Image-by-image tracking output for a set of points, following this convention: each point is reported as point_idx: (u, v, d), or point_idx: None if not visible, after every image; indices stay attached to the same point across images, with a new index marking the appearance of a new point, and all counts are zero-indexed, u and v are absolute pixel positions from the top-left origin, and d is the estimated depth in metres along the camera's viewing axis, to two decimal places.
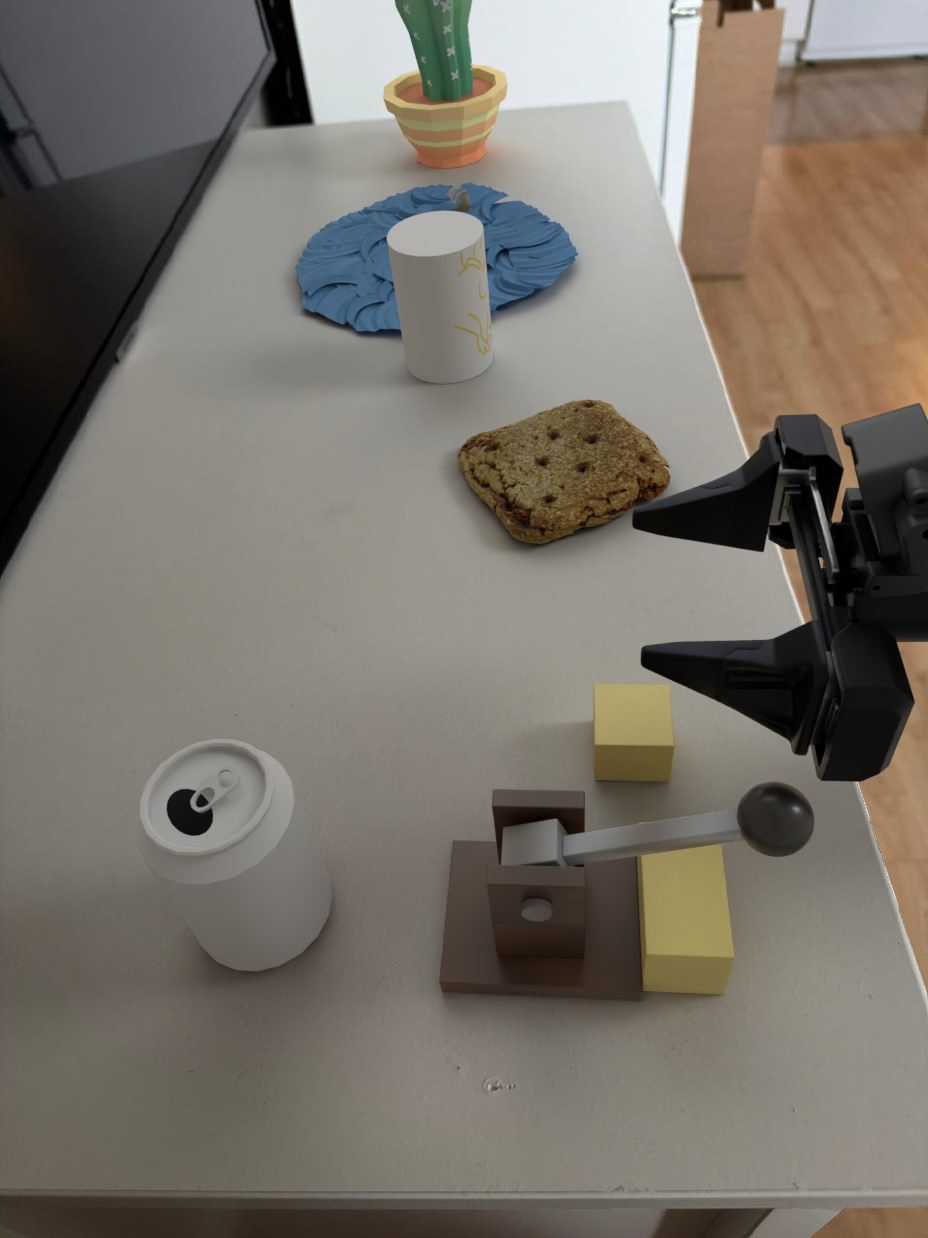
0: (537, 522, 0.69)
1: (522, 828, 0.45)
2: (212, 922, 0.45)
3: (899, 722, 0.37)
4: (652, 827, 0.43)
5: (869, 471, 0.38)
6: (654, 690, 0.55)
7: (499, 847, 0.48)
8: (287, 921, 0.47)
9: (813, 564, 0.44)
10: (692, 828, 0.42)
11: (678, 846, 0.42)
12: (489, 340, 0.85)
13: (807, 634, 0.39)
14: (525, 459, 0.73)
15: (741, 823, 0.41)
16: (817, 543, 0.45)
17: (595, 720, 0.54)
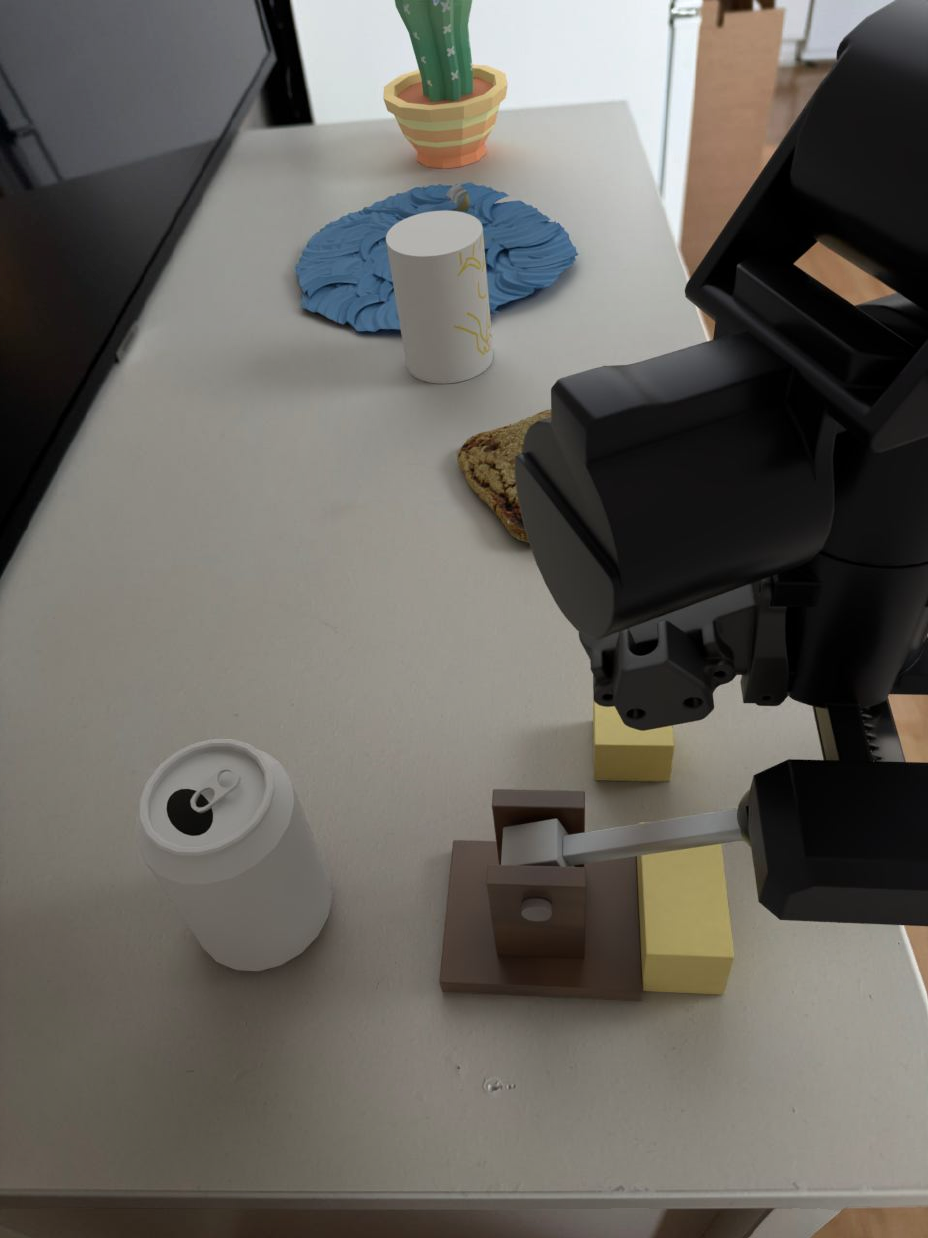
0: None
1: (522, 828, 0.45)
2: (212, 922, 0.45)
3: (827, 885, 0.27)
4: (652, 827, 0.43)
5: None
6: None
7: (499, 847, 0.48)
8: (287, 921, 0.47)
9: None
10: (692, 828, 0.42)
11: (678, 846, 0.42)
12: (489, 340, 0.85)
13: None
14: None
15: (741, 823, 0.41)
16: None
17: (595, 720, 0.54)
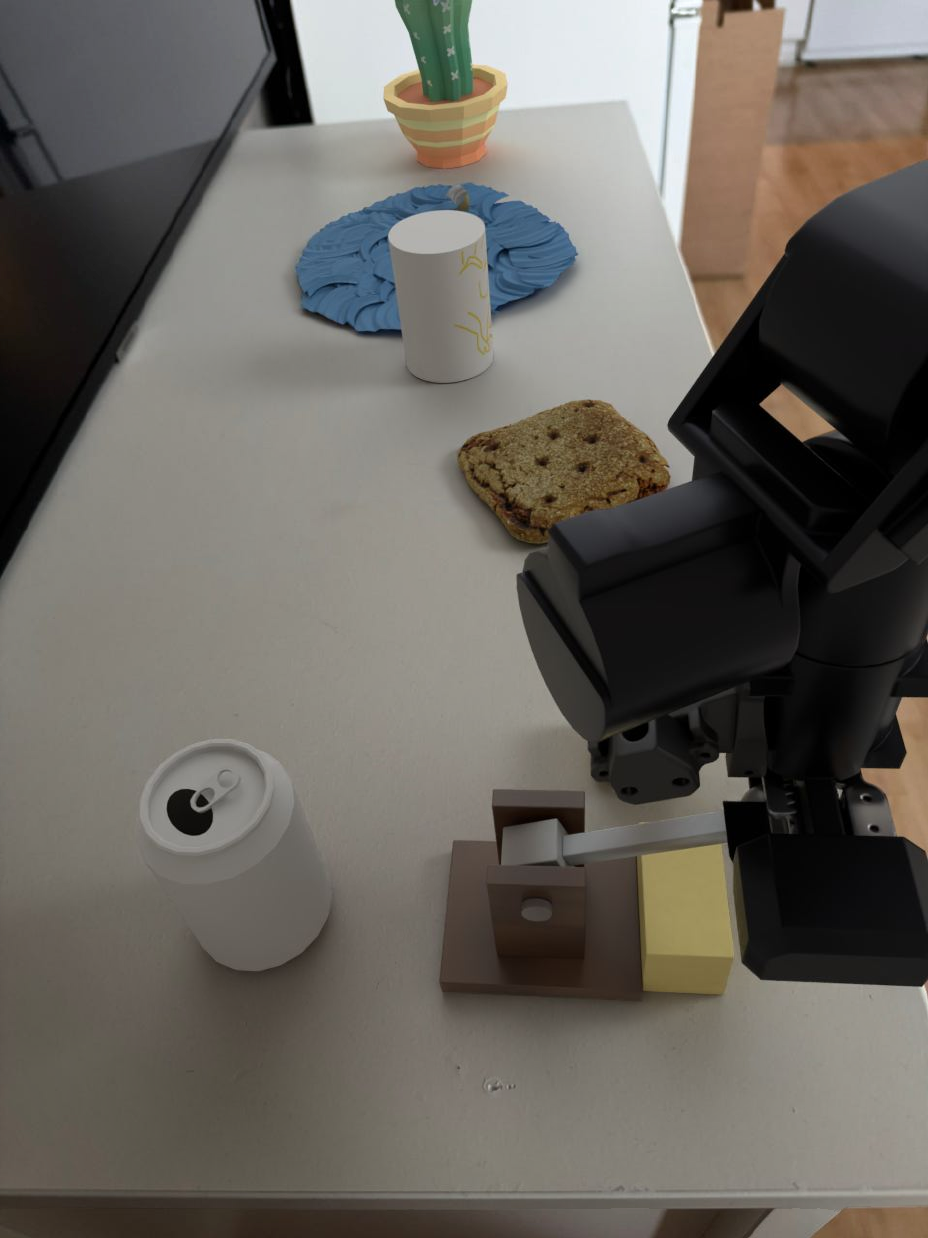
0: (537, 521, 0.69)
1: (522, 828, 0.45)
2: (212, 922, 0.45)
3: (801, 952, 0.30)
4: (652, 827, 0.43)
5: None
6: None
7: (499, 847, 0.48)
8: (287, 921, 0.47)
9: None
10: (692, 828, 0.42)
11: (678, 846, 0.42)
12: (489, 340, 0.85)
13: None
14: (525, 459, 0.73)
15: None
16: None
17: None
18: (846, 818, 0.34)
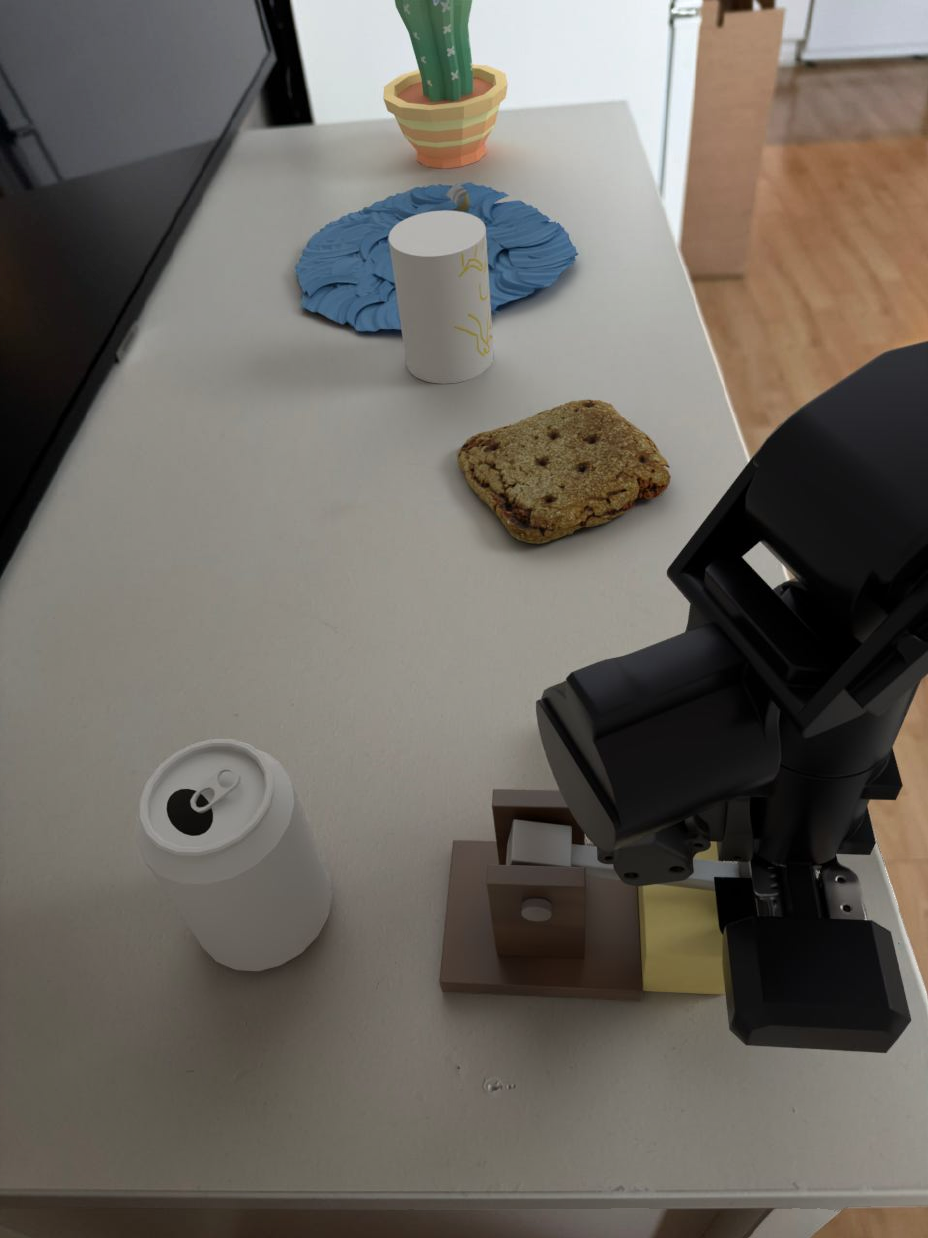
0: (537, 521, 0.69)
1: (534, 826, 0.45)
2: (212, 922, 0.45)
3: (781, 1025, 0.34)
4: None
5: None
6: None
7: (499, 847, 0.48)
8: (287, 921, 0.47)
9: None
10: (697, 871, 0.45)
11: (678, 883, 0.45)
12: (489, 341, 0.85)
13: None
14: (525, 459, 0.73)
15: None
16: None
17: None
18: (822, 896, 0.39)
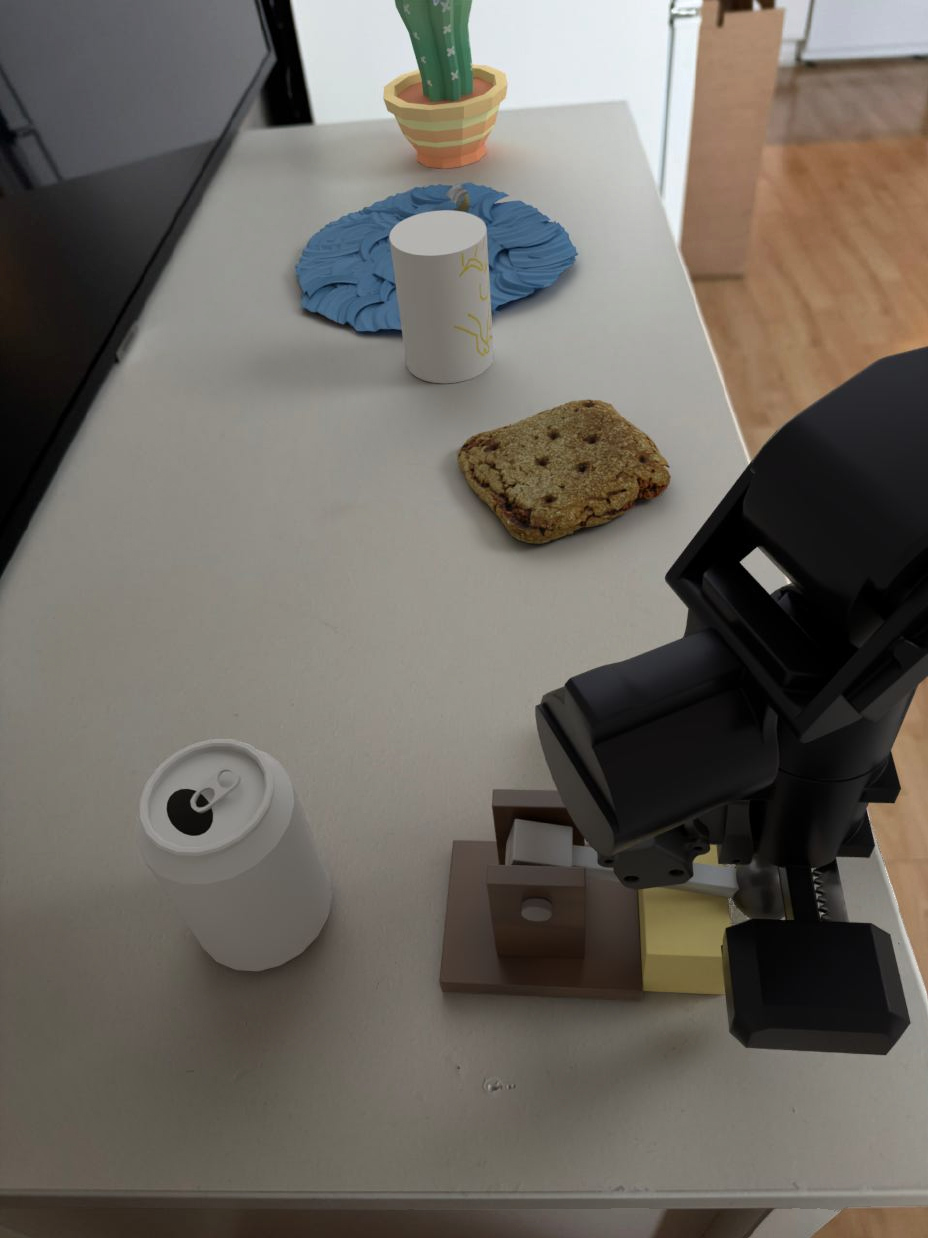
0: (537, 521, 0.69)
1: (535, 826, 0.45)
2: (212, 922, 0.45)
3: (780, 1027, 0.34)
4: None
5: None
6: None
7: (499, 847, 0.48)
8: (287, 921, 0.47)
9: None
10: (695, 875, 0.45)
11: (676, 886, 0.45)
12: (489, 341, 0.85)
13: None
14: (525, 459, 0.73)
15: (743, 884, 0.45)
16: None
17: None
18: None
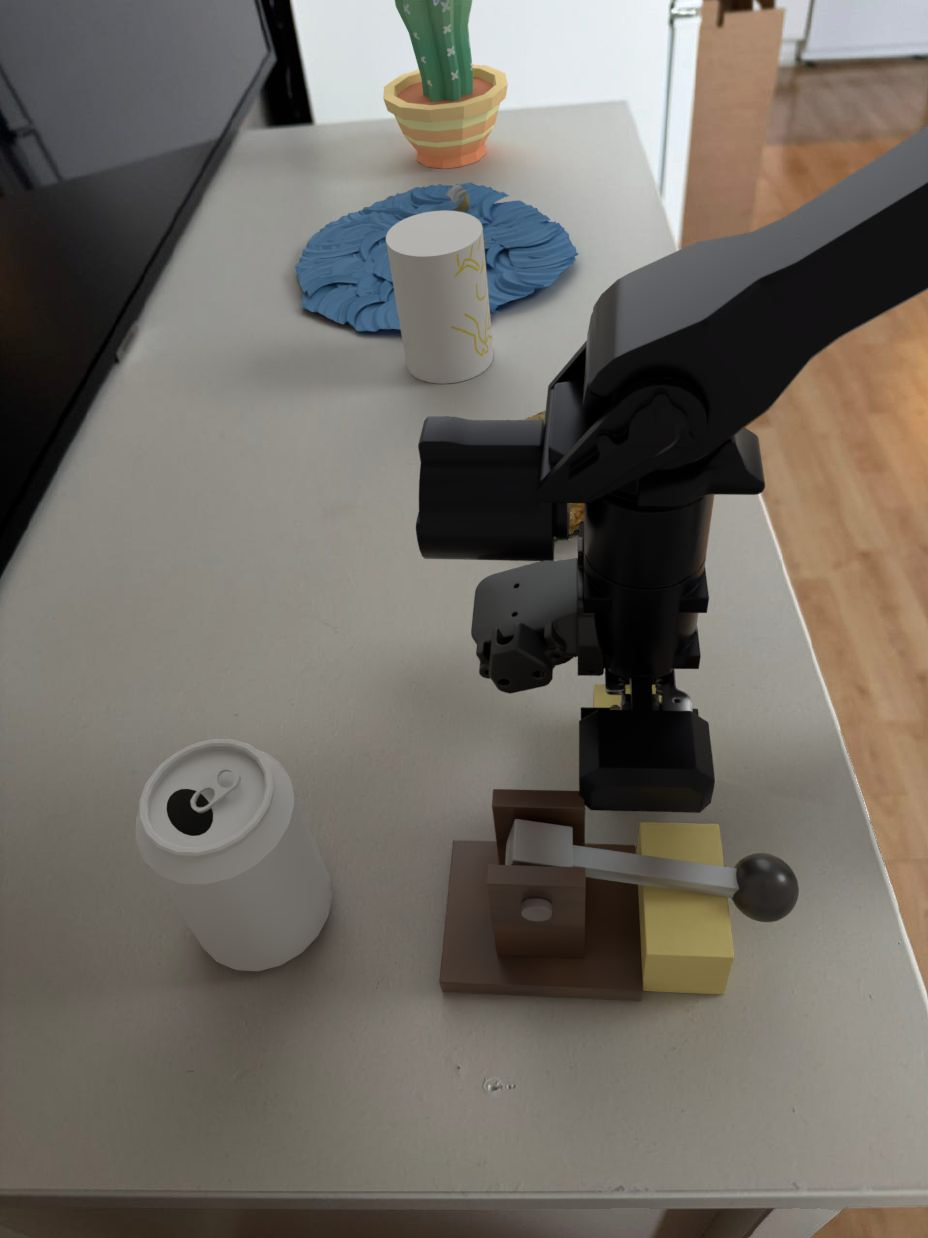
0: None
1: (535, 826, 0.45)
2: (212, 922, 0.45)
3: (612, 785, 0.43)
4: (658, 862, 0.45)
5: None
6: (654, 690, 0.55)
7: (499, 847, 0.48)
8: (287, 921, 0.47)
9: None
10: (695, 875, 0.45)
11: (676, 886, 0.45)
12: (488, 341, 0.85)
13: None
14: None
15: (743, 884, 0.45)
16: None
17: None
18: None
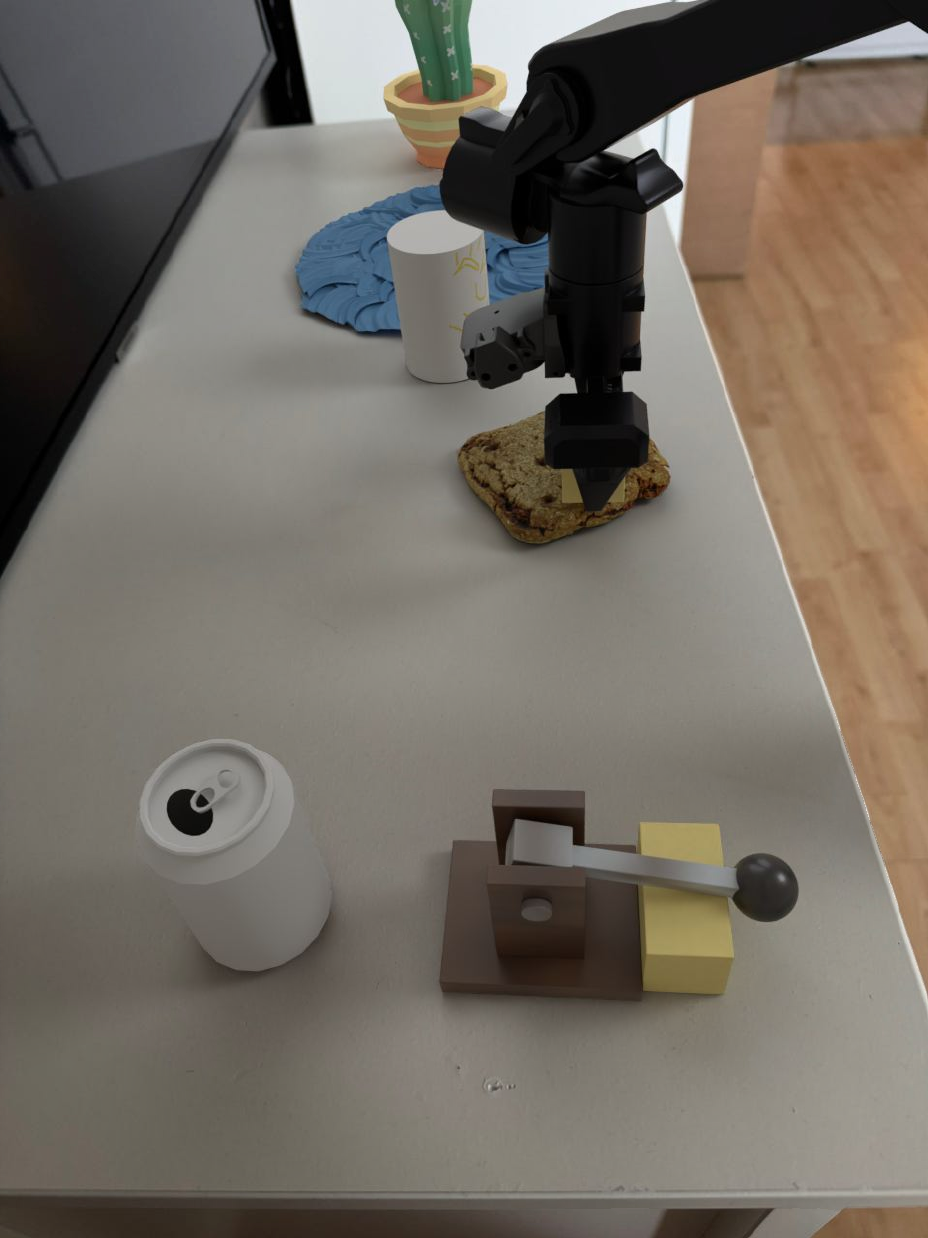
0: (537, 522, 0.69)
1: (535, 826, 0.45)
2: (212, 922, 0.45)
3: (569, 439, 0.56)
4: (658, 862, 0.45)
5: None
6: None
7: (499, 847, 0.48)
8: (287, 921, 0.47)
9: None
10: (695, 875, 0.45)
11: (676, 886, 0.45)
12: None
13: None
14: (525, 459, 0.73)
15: (743, 884, 0.45)
16: None
17: None
18: None
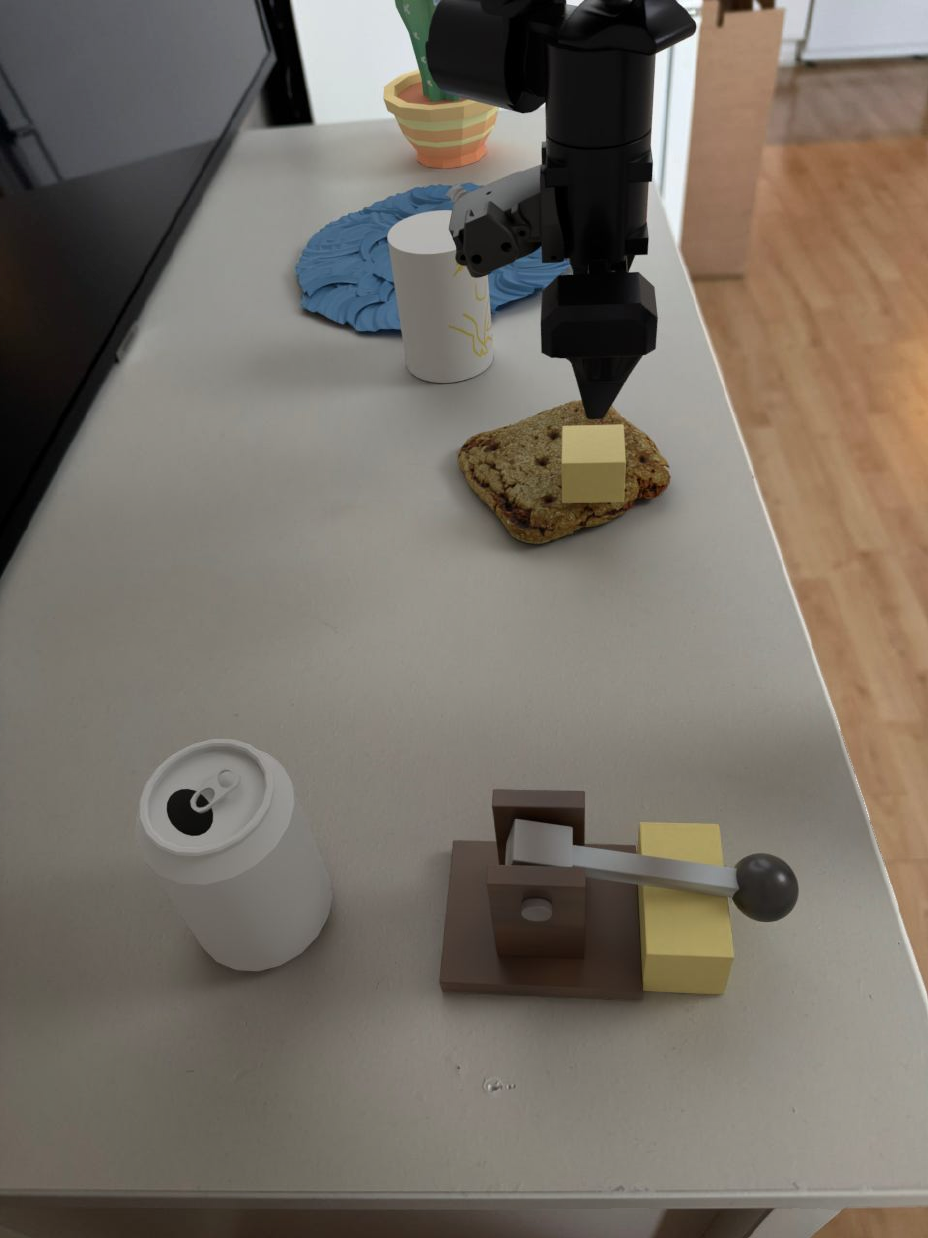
0: (537, 522, 0.69)
1: (535, 826, 0.45)
2: (212, 922, 0.45)
3: (568, 320, 0.50)
4: (658, 862, 0.45)
5: (467, 267, 0.56)
6: (611, 428, 0.68)
7: (499, 847, 0.48)
8: (287, 921, 0.47)
9: None
10: (695, 875, 0.45)
11: (676, 886, 0.45)
12: (487, 343, 0.85)
13: None
14: (525, 459, 0.73)
15: (743, 884, 0.45)
16: None
17: (562, 448, 0.67)
18: None
